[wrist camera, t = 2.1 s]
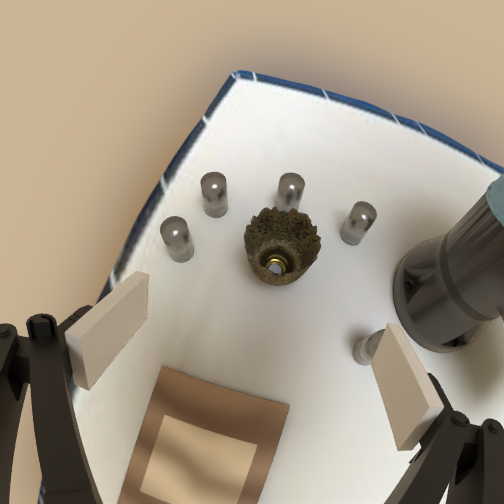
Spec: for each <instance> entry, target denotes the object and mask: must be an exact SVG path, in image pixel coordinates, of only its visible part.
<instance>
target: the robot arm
mask: <svg viewBox="0 0 504 504" xmlns="http://www.w3.org/2000/svg"><path fill="white" fill-rule="evenodd" d="M148 279H149V274H145V273H141V272H137V271H136V272H135V273H133V274H132V275H131V276H130V277H129V278H127V279H126V280H125V281H124V282H123V283H121V284H120V285H119V286H118V287H116V288H115V289H114V290H113V291H112V292H111V293H109V294H108V295H107V296H106V297H105V298H103V299H102V300H101V301H100V302H99V303H98V304H96V305H95V306H94V307H93V306H89V305H87V306H84V307H82V308H79V309H78V310H77V311H75V312H74V313H73V315H71V316H70V317H68V319H66V320H65V321H63V322H62V323H61V324H60V325H59V326H57V323H56V320H55V318H54V317H53V316H51V315H49V314H36V315H34V316H31V317H30V318H29V319H28V320H27V322H26V325H27V330H28V335H29V337H23V336H18V333H17V329H16V327H15V326H13V325H11V324H0V504H9V495H10V482H11V472H12V464H13V457H14V450H15V443H16V437H17V432H18V427H19V422H20V417H21V412H22V408H23V403H24V399H25V395H26V391H27V387H28V383H29V384H30V387H31V400H32V413H33V422H34V431H35V437H36V445H37V450H38V456H39V461H40V467H41V472H42V477H43V481H44V485H45V490H46V492H45V494H44V495H43V499H44V504H103V502H102V500H101V497H100V495H99V492H98V490H97V487H96V484H95V481H94V478H93V476H92V473H91V470H90V467H89V464H88V460H87V457H86V454H85V451H84V447H83V444H82V440H81V437H80V433H79V429H78V425H77V421H76V417H75V413H74V408H73V404H72V399H71V394H70V389H69V384H68V379H69V378H70V377H71V375H73V379H74V384H75V385H77V386H80V387H82V388H84V389H86V390H90V389H91V388H92V386H93V385H94V384H95V382H96V381H97V380H98V379H99V377H100V376H101V375H102V374H103V372H104V371H105V370H106V368H107V367H108V366H109V365H110V363H111V362H112V361H113V360H114V358H115V357H116V356H117V355H118V353H119V352H120V351H121V350H122V348H123V347H124V346H125V345H126V343H127V342H128V341H129V340H130V338H131V337H132V336H133V335H134V333H135V332H136V331H137V330H138V328H139V327H140V326H141V325H142V324H143V322H144V321H145V320H146V319H147V302H148ZM393 295H394V302H395V307H396V310H397V314H398V316H399V319H400V321H401V323H402V325H403V326H404V328H405V330H406V331H407V332H408V334H409V335H410V336H411V337H412V338H413V339H414V340H415V341H416V342H417V343H418V344H420V345H421V346H423V347H424V348H426V349H428V350H431V351H434V352H439V353H447V352H452V351H455V350H457V349H460V348H463V347H465V346H467V345H468V344H470V343H471V342H473V341H474V340H475V339H476V338H477V337H478V335H479V334H480V333H481V332H482V331H483V330H484V329H485V328H486V327H487V326H488V324H489V323H490V322H491V321H492V320H493V319H495V318H497V317H499V316H501V317H502V319H503V321H504V173H503V174H502V175H501V176H500V177H499V178H498V179H497V180H496V181H494V182H492V183H491V184H490V185H489V186H488V189H487V191H486V193H485V194H484V195H483V196H482V197H481V198H480V200H479V201H478V202H477V203H476V204H475V205H474V206H473V207H472V208H471V209H470V210H469V212H468V213H467V214H466V215H465V216H464V217H463V218H462V219H461V220H460V221H459V222H458V223H457V224H456V225H455V226H454V227H453V228H452V229H451V230H450V231H449V232H448V233H447V234H445V235H442V236H439V237H436V238H433V239H430V240H427V241H425V242H422V243H420V244H419V245H417V246H415V247H414V248H413V249H412V250H411V251H410V252H409V253H408V254H407V255H406V256H405V257H404V258H403V259H402V261H401V262H400V264H399V266H398V268H397V271H396V274H395V278H394V285H393ZM371 366H372V369H373V372H374V375H375V378H376V381H377V384H378V387H379V390H380V393H381V396H382V399H383V403H384V406H385V409H386V412H387V415H388V419H389V422H390V425H391V429H392V432H393V436H394V439H395V443H396V446H397V450H398V451H407V450H413V449H414V447H415V446H416V445H417V444H418V442H420V445H421V449H420V450H419V451H418V453H417V454H416V455H415V456H414V457H413V458H412V460H411V461H410V462H409V463H410V466H409V467H408V469H407V471H406V472H405V474H404V475H403V477H402V478H401V480H400V481H399V483H398V484H397V486H396V487H395V489H394V490H393V492H392V493H391V495H390V496H389V497H388V499H387V500H386V502H385V503H384V504H439V503H440V501H441V499H442V497H443V495H444V492H445V490H446V488H447V486H448V484H449V488H448V494H447V500H446V504H504V429H503V427H502V425H501V424H500V423H499V422H498V421H497V420H494V419H490V418H489V419H486V420H485V421H484V422H483V423H482V425H481V426H477V425H473V424H470V421H469V419H468V418H467V417H466V415H464V414H463V413H461V412H459V411H454V410H453V408H452V406H451V404H450V402H449V401H448V399H447V397H446V395H445V394H444V391H443V389H442V388H441V386H440V384H439V382H438V380H437V379H436V378H435V377H434V376H433V375H432V374H431V373H426V371H425V369H424V367H423V365H422V363H421V362H420V360H419V358H418V356H417V354H416V353H415V351H414V349H413V347H412V345H411V344H410V342H409V340H408V338H407V337H406V335H405V333H404V332H403V330H402V328H401V326H400V325H396V324H390V323H388V324H387V326H386V329H385V331H384V334H383V336H382V338H381V341H380V343H379V345H378V348H377V350H376V352H375V355H374V357H373V359H372V361H371Z"/></svg>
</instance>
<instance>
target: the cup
mask: <svg viewBox="0 0 504 504" xmlns="http://www.w3.org/2000/svg"><path fill="white" fill-rule="evenodd" d="M316 234H317V226H312V224H311V220H310V218H309V217H308V215H307V214H305V213H299V212H298V211H297V209H295V208H291V210H290V211H289V212H285V211H279V210H278V208H277V207H276V206H275V207H273V208H272V210H270V209H269V208H264V209H262V211H261V212H260V214H259V215H258V217H256V216H253V217H252V220H251V225H247V227H246V231H245V234H244V241H245V248H246V252H247V257H248V261H249V264H250V266H251V268H252V270H253V272H254V273H255V275H256V276H257V277H258V278H259V279H261V280H262V281H264V282H266V283H268V284H271V285H277V286H281V285H287V284H290V283H292V282H294V281H296V280H297V279H298V278H300V277H301V276H302V275H303V274H304V273H305V272H306V271H307V269H308V268H309V267H310V266H311V265H312V263H313V262H314V261H315V260H316V259H317V255H318V253H319V251H320V248H321V244H320V240H321V237H319V236H318V235H316ZM272 264H278V265H280V266H281V268H282V273H281V274H275V273H273V272H272V271H270V270H268V268H269V266H270V265H272Z"/></svg>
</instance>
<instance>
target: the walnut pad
mask: <svg viewBox="0 0 504 504" xmlns="http://www.w3.org/2000/svg"><path fill="white" fill-rule="evenodd" d="M289 408H290V406H289V405H285V404H281V403H277V402H273V401H269V400H265V399H261V398H258V397H254V396H251V395H247V394H244V393H240V392H237V391H234V390H230V389H227V388H224V387H221V386H218V385H215V384H212V383H209V382H206V381H203V380H200V379H197V378H194V377H191V376H188V375H186V374H183V373H180V372H178V371H175V370H172V369H170V368H167V367H164V366H162V368H161V370H160V373H159V376H158V379H157V382H156V385H155V388H154V390H153V393H152V396H151V399H150V402H149V405H148V408H147V411H146V414H145V417H144V420H143V423H142V426H141V429H140V432H139V435H138V438H137V441H136V444H135V447H134V451H133V454H132V457H131V460H130V463H129V467H128V470H127V473H126V476H125V480H124V483H123V486H122V490H121V493H120V497H119V500H118V504H257V503H258V500H259V497H260V495H261V492H262V489H263V487H264V484H265V481H266V478H267V475H268V473H269V470H270V467H271V464H272V461H273V458H274V455H275V452H276V449H277V446H278V443H279V440H280V437H281V434H282V431H283V427H284V424H285V421H286V418H287V414H288V411H289Z"/></svg>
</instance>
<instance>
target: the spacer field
mask: <svg viewBox="0 0 504 504" xmlns="http://www.w3.org/2000/svg"><path fill="white" fill-rule="evenodd" d="M304 186H305V182H304V179H303V178H302V177H301V176H300V175H298V174H296V173H286V174H284V175H282V176H281V178H280V181H279V187H278V193H277V199H276V205H275V206H276V207H277V208H278V210H279V211H285V212H289V211H290V210H291V208H295V209H297V211H298V208H299V204H300V200H301V197H302V193H303V189H304ZM201 188H202V195H203V201H204V207H205V212H206V214H207V215H209V216H210V217H213V218H218V217H221V216H223V215H224V214H225V213H226V212H227V210H228V204H227V185H226V178H225V176H224V175H223V174H221V173H219V172H210V173H207V174H205V175H204V176H203V177H202V179H201ZM376 217H377V213H376V210H375V208H374V207H373V206H372V205H371V204H369V203H367V202H363V201H360V202H357V203H356V204H355V205H354V207H353V209H352V210H351V212H350V214H349V216H348V218H347V220H346V222H345V224H344V226H343V228H342V229H341V233H340V234H341V238H342V240H343V241H344V242H345V243H347V244H349V245H357V244H359V243H360V242H361V240H362V239H363V237H364V236H365V234H366V233H367V231H368V230H369V228H370V227H371V225H372V224H373V222H374V221H375V219H376ZM160 233H161V235H162V238H163V240H164V242H165V245H166V247H167V249H168V251H169V254H170V256H171V258H172V259H173V260H174V261H176V262H180V263H181V262H186V261H188V260H189V259H190V258H191V257H192V256H193V253H194V248H193V244H192V241H191V237H190V234H189V230H188V226H187V223H186V221H185V220H184V219H183V218H181V217H178V216H173V217H169V218H167V219H166V220H164V221H163V223H162V224H161V227H160ZM384 331H385V329H382V330H379V331H377V332H375V333H374V334H372V335H370V336H368V337H367V338H365V339H363V340H361V341H359V342H358V343H357V344H356V345H355V346H354V349H353V357H354V359H355V361H356V362H357V363H359V364H360V365H369V364H371V361H372V359H373V357H374V355H375V352H376V350H377V348H378V345H379V343H380V341H381V338H382V336H383V334H384Z"/></svg>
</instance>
